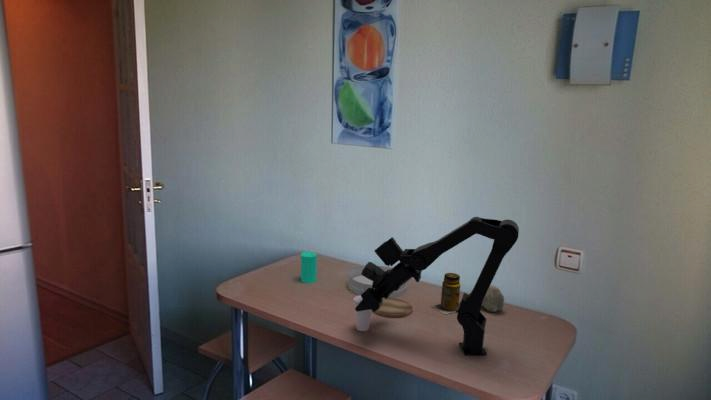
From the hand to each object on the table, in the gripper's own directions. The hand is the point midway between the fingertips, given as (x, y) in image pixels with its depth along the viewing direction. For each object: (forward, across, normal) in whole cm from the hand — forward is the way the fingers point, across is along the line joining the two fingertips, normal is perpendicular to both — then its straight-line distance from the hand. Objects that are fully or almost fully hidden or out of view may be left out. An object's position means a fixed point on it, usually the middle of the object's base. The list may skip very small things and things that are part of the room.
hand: (359, 306), depth 152 cm
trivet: (+1, -18, +9) cm, 20 cm away
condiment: (-11, -27, +22) cm, 36 cm away
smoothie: (+4, 0, +6) cm, 7 cm away
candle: (+27, -31, -17) cm, 44 cm away
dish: (+9, -36, +2) cm, 37 cm away
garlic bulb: (-21, -32, +31) cm, 50 cm away
